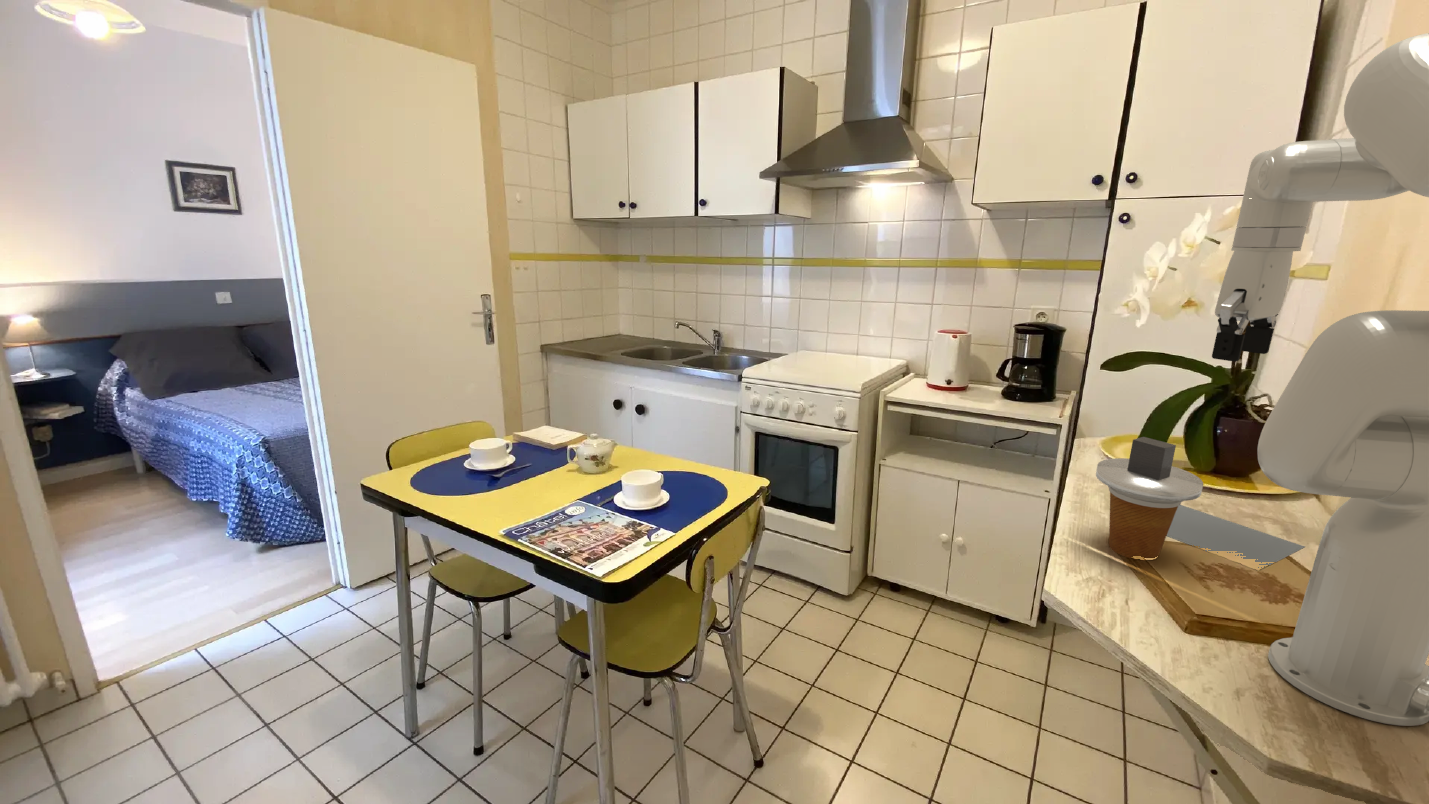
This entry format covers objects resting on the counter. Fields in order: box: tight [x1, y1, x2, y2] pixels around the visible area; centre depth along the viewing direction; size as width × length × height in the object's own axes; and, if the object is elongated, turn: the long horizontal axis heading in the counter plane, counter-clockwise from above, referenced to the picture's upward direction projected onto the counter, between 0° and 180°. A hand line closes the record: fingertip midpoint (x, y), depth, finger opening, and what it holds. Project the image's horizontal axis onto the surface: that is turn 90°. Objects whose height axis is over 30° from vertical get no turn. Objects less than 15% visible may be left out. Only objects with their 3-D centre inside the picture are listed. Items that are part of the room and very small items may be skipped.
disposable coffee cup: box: [1107, 486, 1184, 559], centre depth 91 cm, size 10×10×12 cm
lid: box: [1095, 436, 1204, 502], centre depth 88 cm, size 13×13×6 cm
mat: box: [1166, 504, 1306, 568], centre depth 98 cm, size 20×15×1 cm
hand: (1239, 356), depth 90 cm, fingers open, 9 cm apart
